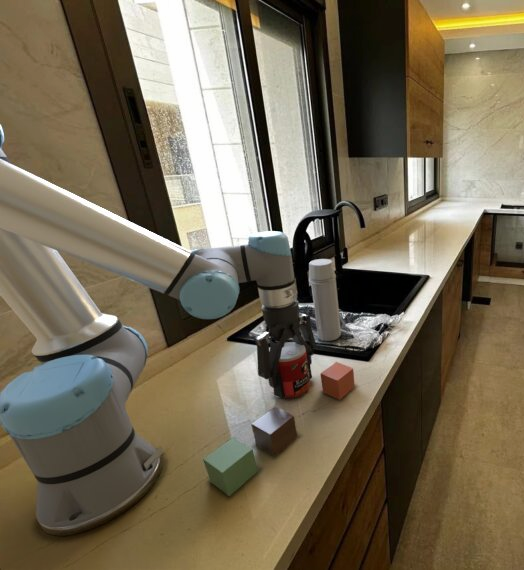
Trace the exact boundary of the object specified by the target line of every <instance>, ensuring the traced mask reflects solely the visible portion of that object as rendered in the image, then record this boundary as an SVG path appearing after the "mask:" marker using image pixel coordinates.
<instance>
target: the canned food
mask: <svg viewBox="0 0 524 570" xmlns="http://www.w3.org/2000/svg"><path fill="white" fill-rule="evenodd" d="M278 373H279V374H281V378H282V383H283V389H284V394H285V397H284V398H290V399H292V398H297V397H300V396H302V395H304V394H306V393H307V392H308V391H309V389H310V387H311V379H310V376H309V368H308V361H307V354H306V349H305V346H304V345H299V344H297V343H295V342H294V341H289V342H288V341H287V342H285V344H284V347H283V348H282V352H281V357H280V359H279V368H278Z"/></svg>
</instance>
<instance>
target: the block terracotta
mask: <svg viewBox="0 0 524 570" xmlns="http://www.w3.org/2000/svg"><path fill="white" fill-rule="evenodd" d="M320 382H321V383H320V384H321V389H322V393H324V394H325V395H328V396H330V397H332V398H335V399H337V400H341V399H343V397H345V396H347V394H348V393H350V392H351V390H353V389H354V388H355V387H356V384H355V383H356V381H355V371H354V367H351V366H348V365H346V364H343V363H340V362H338V361H335V362H333V364H332V365H330V366H329V367H327V368H325V370H323V371H322V372H320Z"/></svg>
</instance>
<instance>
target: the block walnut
mask: <svg viewBox="0 0 524 570" xmlns="http://www.w3.org/2000/svg"><path fill="white" fill-rule="evenodd" d="M250 424H251V427H252V434H253V437H254V441H255V445H256V446H257V447H258V448H259V449H262V450H264V451H265V452H266V453H268V454H270V455H271V456H273V457H276V456H277V455H278V454H280V453H281V452H282V451H283V450H284V449H285V448H286V447H288V446H289V445H290V444H291V443H292V442H293V441H295V440H296V439H297V438H298V430H297V426H296V420H295V416H294V414H291V413H290V412H287V411H285V410H283V409H281V408H279V407H277V406H276V405H275V406H273V407H272V408H271V409H270V410H268V411H267V412H266V413H264V414H263V415H262V416H260V417H259V418H258V419H256V420H254V421H253V422H252V423H250Z"/></svg>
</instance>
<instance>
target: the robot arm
mask: <svg viewBox="0 0 524 570" xmlns="http://www.w3.org/2000/svg"><path fill="white" fill-rule="evenodd" d="M4 143H5V134H4V128H3V127H2V124H1V123H0V297H1V298H2V299H3V300H4V301H5V303H6V304H7V305H8V306H9V308H10V309H11V310H12V311H13V312H14V313H15V315H16V316H17V317H18V318H19V319H20V320H21V322H22V323H23V324H24V325H25V326H26V328H27V329H28V330H29V331H30V332H31V333H32V335H34V337H35V339H36V341H35V342H34V344H33V347H32V349H31V354H32V355H33V356H34V357H35V358H36V359H37V361H38V362H39V363H40V364H39V365H37V366H35V367H33V370H31V371H25V372H23V373H21V374H19V375H17V377H15V378H14V379H12V380H11V381H10V382H9V383H8V384H7V385H6V386H5V387H4V388H3V389H2V391H1V392H0V425H1V427H2V429H3V431H4V432H5V433H7V434H8V435H9V437H10V438H11V441H12V442H13V443H14V445H15V447H16V449H17V450H18V452H19V453H20V456H22V458H23V460H24V461H25V463H26V464H27V466H28V468H29V469H30V472H31V473H32V474H33V476H34V478H35V480H36V481H37V490H36V510H35V518H36V520H37V522H38V524H39V525H40V527H41V529H42V530H43V531H44V532H46V534H49V535H53V536H71V535H76V534H79V533H84V532H87V531H90V530H92V529H95V528H97V527H100V526H102V525H103V524H106V523H107V522H110V521H111V520H113V519H115V518H117V517H118V516H119V515H121V514H123V513H124V512H125V511H127V510H128V509H130V508H131V507H133V506H134V505H135V504H136V503H137V502H139V501H140V500H141V499H142V498H144V496H145V495H146V494H147V493H148V492H149V491H150V490H151V488H152V487H153V486H154V485H155V484H156V482H157V480H158V479H159V478H160V474H161V473H162V469H163V461H162V458H161V455H162V454H163V453H164V450H163V447H162V445H160V446H159V447H158V448H155V446H153V445H152V444H150V443H149V442H148V441H147V440H146V439H144V437H143V438H142V436H141V435H139V434H137V433H136V430H135V429H134V426H133V424H132V420H131V419H130V418H131V417H130V416H129V414H128V411H127V408H126V403H127V401H128V399H129V397H130V395H131V393H132V391H133V389H134V387H135V385H136V383H137V381H138V379H139V378H140V375H141V373H142V372H143V371H144V368H145V366H146V365H147V359H148V354H149V348H148V344H147V341H146V340H145V338H144V336H143V335H142V333H140V332H139V331H137V330H136V329H135V328H133V327H132V326H126V325H124V324H122V322H121V321H120V319H119V318H118V317H117V316H116V315H114V314H108V313H102V312H101V310H100V309H99V307H98V306H97V305H96V303H95V302H94V300H93V299H92V298H91V297H90V295H89V293H88V292H87V290H86V289H85V288H84V287H83V285H82V284H81V282H80V281H79V280H78V278H77V277H76V275H75V274H74V272H73V270H72V269H71V268H70V267H69V266H68V264H67V263H66V261H65V260H64V258H63V257H62V255H60V253H62V254H65V255H67V256H69V257H72V258H74V259H77V260H79V261H81V262H84V263H87V264H90V265H92V266H95V267H97V268H99V269H101V270H104V271H106V272H110V273H112V274H115V275H117V276H120V277H122V278H124V279H127V280H129V281H132V282H134V283H137V284H139V285H141V286H145V287H147V288H149V289H152V290H154V291H157V292H159V293H161V294H164V295H167V296H169V297H170V298H174V299H176V300H178V301H179V302H180V305H181V306H182V308H183V309H184V310H185V311H186V312H187V313H188V314H190V315H191V316H192V317H195V318H197V319H201V320H216V319H219V318H222V317H224V316H226V315H227V314H229V313H231V311H232V310H233V309H234V308H235V306H236V304H237V300H238V298H239V294H240V289H241V288H240V285H239V284H242V283H247V282H248V283H249V282H254V281H256V285H257V291H258V296H259V302H260V304H261V311H262V317H263V321H264V323H265V325H266V326H265V331H264V332H263V333H262V334H261V335H254V337H253V340H254V343H255V345H256V360H257V375H258V376H259V377H261V378H263V379H265V380H268V384H269V387H270V388H272V389H273V393H274V394H273V395H274V396H276V397H277V398H280V399H281V400H283V399H284V398H286V397H285V394H284V389H283V383H282V378H281V374H279V373H278V368H279V359H280V357H281V352H282V348H283V347H284V344H285V343H286V342H288V340H290V339H292V341H293V342H295V343H297V344H299V345H304V346H305V349H306V354H307V361H308V368H309V376H310V380H311V379H312V378H313V373H312V368H311V365H312V363H313V361H312V356H313V355H314V354H315V351H313V350H316V349H317V347H318V346H317V342H316V339H315V335H314V332H313V328H312V325H311V315H309V314H306V313H301V312H300V306H299V301H298V293H297V285H296V279H295V272H294V264H293V257H292V252H291V247H290V242H289V237H288V235H287V234H286V233H284V232H282V231H277V230H276V231H275V230H266V231H261V232H260V231H259V232H254V233H251V234H250V235H249V236H248V242H247V243H246V244H242V245H241V244H240V245H231V246H220V247H219V246H218V247H209V248H205V247H204V248H203V247H200V248H197V249H191V250H188V249H187V248H185V247H183V246H181V245H179V244H177V243H175V242H172V241H170V240H169V239H167V238H164V237H163V236H160V235H158V234H156V233H154V232H152V231H149V230H148V229H146V228H144V227H142V226H140V225H138V224H136V223H134V222H131V221H129V220H127V219H125V218H123V217H121V216H119V215H117V214H115V213H113V212H111V211H110V210H107V209H105V208H104V207H103V208H102V207H100V206H99V205H96V204H95V203H92V202H90V201H88V200H86V199H84V198H82V197H80V196H78V195H76V194H74V193H72V192H70V191H68V190H66V189H63V188H61V187H59V186H57V185H55V184H54V183H51V182H50V181H47V180H45V179H43V178H42V177H39V176H37V175H35V174H33V173H31V172H29V171H26V170H25V169H22V168H20V167H18V166H16V165H15V164H12V162H11V161H10V160H9V158H8V157H7V155H6V153H5V152H4V150H3V149H2V148H3V145H4ZM299 328H300V330H299Z"/></svg>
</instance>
